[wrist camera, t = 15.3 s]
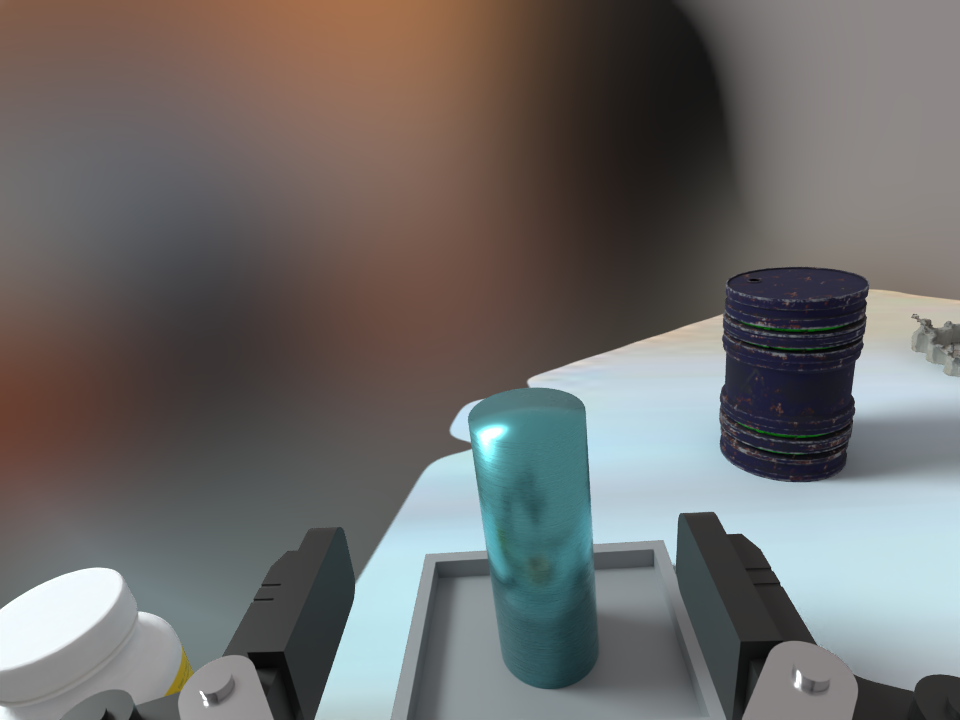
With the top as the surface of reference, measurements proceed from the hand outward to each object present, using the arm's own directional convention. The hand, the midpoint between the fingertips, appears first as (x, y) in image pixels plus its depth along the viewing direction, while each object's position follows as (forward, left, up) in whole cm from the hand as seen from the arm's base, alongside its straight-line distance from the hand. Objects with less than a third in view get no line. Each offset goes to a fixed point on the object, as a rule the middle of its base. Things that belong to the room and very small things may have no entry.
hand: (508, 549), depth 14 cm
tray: (0, +14, -19) cm, 23 cm away
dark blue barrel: (+21, +33, -19) cm, 44 cm away
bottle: (0, +13, -18) cm, 23 cm away
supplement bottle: (-19, +5, -19) cm, 27 cm away
